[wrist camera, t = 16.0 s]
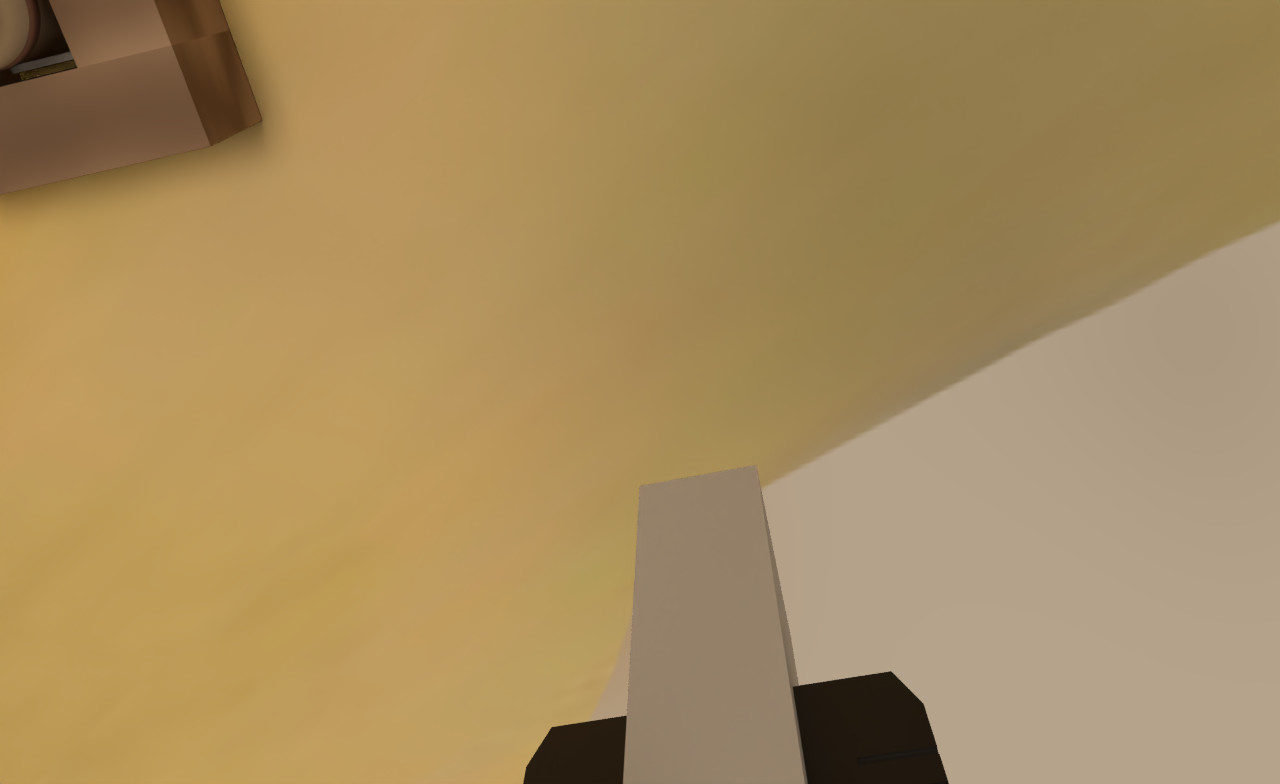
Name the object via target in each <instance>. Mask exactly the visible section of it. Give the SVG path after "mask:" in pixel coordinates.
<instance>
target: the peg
mask: <svg viewBox="0 0 1280 784" xmlns="http://www.w3.org/2000/svg"><path fill="white" fill-rule="evenodd" d="M67 52H70V49H69V47H68V44H67V42H66V39H65V37H64V35H63V32H62V30H61V28H60V25H59V23H58V21H57V18H56V16H55V14H54V11H53V9H52V7H51V4H50V2H49V0H0V71H1V70H5V69H8V68H11V67H14V66H16V65H18V64H22V63H27V62H31V61H35V60H39V59H43V58H47V57H51V56H55V55H59V54H64V53H67Z"/></svg>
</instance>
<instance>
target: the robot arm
mask: <svg viewBox="0 0 1280 784" xmlns="http://www.w3.org/2000/svg"><path fill="white" fill-rule="evenodd" d="M627 705H628V706H627V716H621V717H615V718H608V719H602V720H596V721H589V722H583V723H576V724H570V725H563V726H557V727H552V728H551V729H550V731H549V732H548V734H547V736H546V737H545V739H544V740H543V742H542V743H541V745H540V746H539V748H538V750H537V751H536V753H535V754H534V756H533V757H532V759H531V760H530V762H529V764H528V765H527V767H526V771H525V777H524V783H523V784H948V780H947V777H946V773H945V770H944V767H943V764H942V761H941V758H940V754H938V750H937V745H936V742H935V739H934V735H933V732H932V729H931V726H930V723H929V720H928V717H927V714H926V710H925V707H924V704H923V703H922V702H921V701H920V700H919V699H918V698H917V697H916V696H915V695H914V694H913V693H912V692H911V691H910V690H909V689H908V688H907V687H906V686H905V685H904V684H903V683H902V682H901V681H900V680H899V679H898V678H897V677H896V676H895V675H894V674H893V673H892V672H891V671H890V672H884V673H878V674H871V675H865V676H858V677H852V678H845V679H839V680H833V681H827V682H820V683H813V684H807V685H800V686H799V685H798V678H797V672H796V667H795V660H794V654H793V648H792V642H791V637H790V631H789V626H788V621H787V616H786V611H785V607H784V601H783V596H782V591H781V586H780V581H779V577H778V571H777V567H776V561H775V556H774V551H773V546H772V542H771V536H770V531H769V527H768V521H767V517H766V512H765V506H764V502H763V497H762V492H761V487H760V482H759V477H758V472H757V467H756V465H754V466H748V467H743V468H737V469H731V470H726V471H720V472H715V473H709V474H704V475H698V476H693V477H687V478H682V479H676V480H671V481H665V482H659V483H654V484H648V485H643V486H640V492H639V510H638V527H637V545H636V563H635V580H634V598H633V616H632V634H631V652H630V669H629V687H628V704H627Z"/></svg>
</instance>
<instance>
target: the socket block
mask: <svg viewBox="0 0 1280 784" xmlns="http://www.w3.org/2000/svg"><path fill="white" fill-rule="evenodd" d="M49 2H50V4H51V7H52V9H53V11H54V14H55V16H56V18H57V21H58V23H59V25H60V28H61V30H62V32H63V35H64V37H65V39H66V42H67V44H68V47H69V49H70V51H71V54H72V56H73V58H74V61H75V63H76V65H77V67H76V68H71V69H67V70H63V71H59V72H55V73H51V74H47V75H43V76H38V77H34V78H30V79H26V80H22V81H21V79H20V77H19V75H18V73H15V74H13V73H12V71H11V69H10V68H8V69H5V70H1V71H0V195H1V194H5V193H10V192H14V191H18V190H23V189H27V188H32V187H36V186H40V185H45V184H49V183H53V182H58V181H62V180H66V179H71V178H75V177H79V176H84V175H88V174H92V173H97V172H101V171H105V170H110V169H114V168H119V167H123V166H127V165H132V164H136V163H140V162H145V161H149V160H153V159H158V158H162V157H166V156H171V155H175V154H179V153H184V152H188V151H192V150H197V149H201V148H206V147H210V146H212V145H214V144H216V143H218V142H220V141H222V140H224V139H226V138H228V137H230V136H232V135H234V134H236V133H238V132H240V131H242V130H244V129H246V128H248V127H250V126H252V125H254V124H256V123H258V122H260V121H262V118H261V115H260V113H259V110H258V107H257V104H256V102H255V99H254V96H253V93H252V91H251V88H250V85H249V82H248V80H247V77H246V74H245V71H244V69H243V66H242V63H241V60H240V58H239V55H238V52H237V49H236V47H235V44H234V41H233V38H232V36H231V33H230V30H229V27H228V25H227V22H226V19H225V16H224V14H223V11H222V8H221V5H220V3H219V0H49Z"/></svg>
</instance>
